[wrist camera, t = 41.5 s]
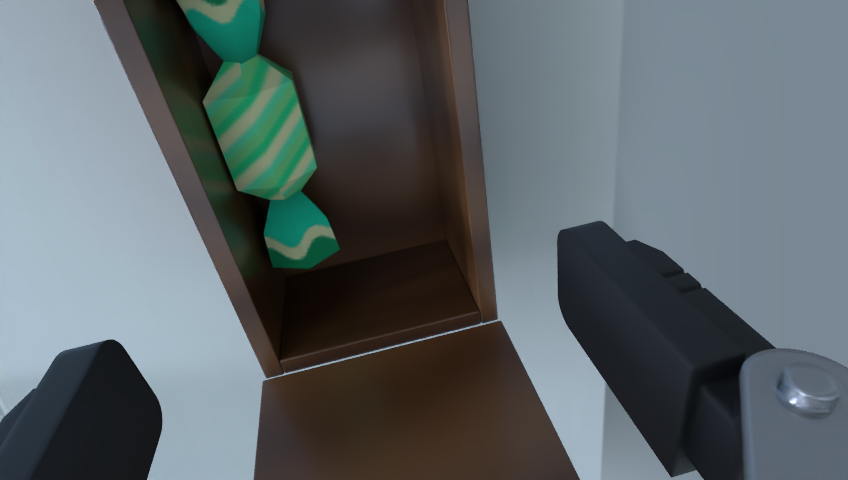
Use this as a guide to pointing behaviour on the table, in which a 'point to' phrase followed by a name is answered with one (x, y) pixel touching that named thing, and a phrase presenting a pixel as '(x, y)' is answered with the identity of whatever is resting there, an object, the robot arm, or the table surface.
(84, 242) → the table surface
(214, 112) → the candy
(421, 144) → the chest
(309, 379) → the lid
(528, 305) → the table surface
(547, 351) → the table surface
